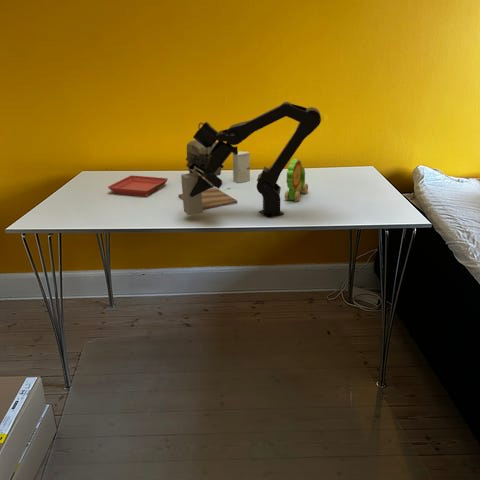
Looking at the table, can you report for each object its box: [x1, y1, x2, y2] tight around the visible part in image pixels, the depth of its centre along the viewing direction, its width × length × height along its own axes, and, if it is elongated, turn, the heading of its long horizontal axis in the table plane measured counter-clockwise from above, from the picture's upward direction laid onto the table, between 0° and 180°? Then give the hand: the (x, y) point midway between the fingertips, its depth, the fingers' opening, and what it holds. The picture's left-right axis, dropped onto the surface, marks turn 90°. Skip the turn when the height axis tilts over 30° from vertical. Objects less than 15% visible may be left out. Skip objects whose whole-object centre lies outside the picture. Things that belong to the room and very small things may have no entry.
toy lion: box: [284, 158, 309, 202], centre depth 177 cm, size 16×5×15 cm, turn 155°
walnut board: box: [178, 187, 238, 211], centre depth 179 cm, size 18×16×1 cm
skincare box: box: [232, 150, 251, 184], centre depth 199 cm, size 6×4×12 cm
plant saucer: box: [107, 174, 168, 197], centre depth 193 cm, size 18×18×3 cm
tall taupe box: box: [180, 172, 204, 216], centre depth 159 cm, size 4×5×13 cm
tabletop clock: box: [186, 122, 222, 177], centre depth 194 cm, size 14×9×25 cm, turn 30°
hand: (188, 194), depth 158 cm, fingers closed on tall taupe box, 5 cm apart
